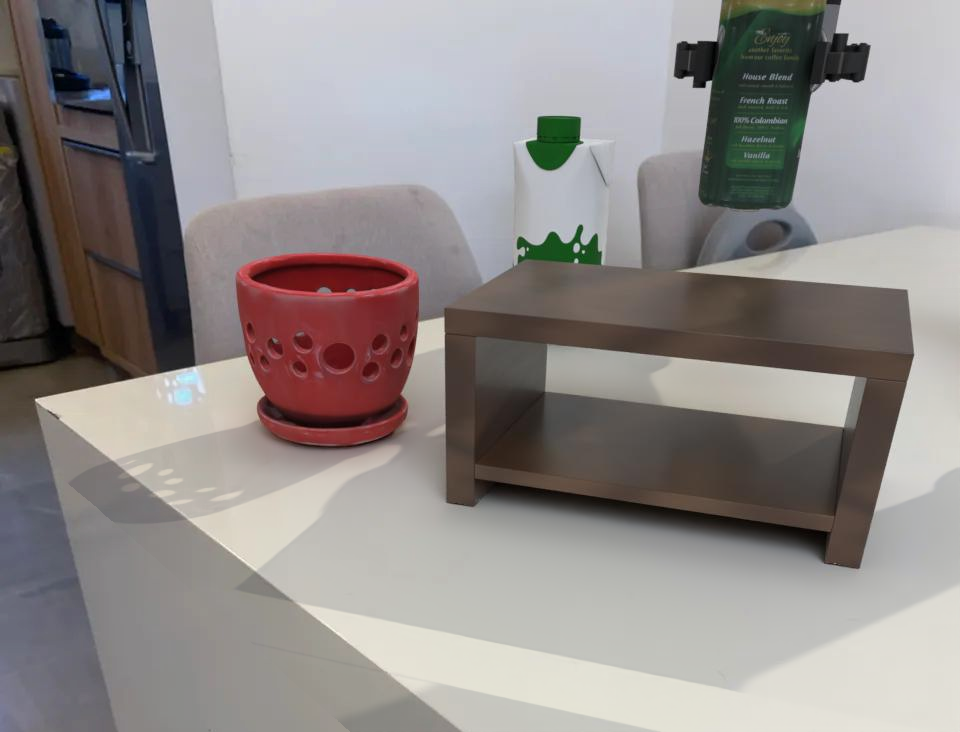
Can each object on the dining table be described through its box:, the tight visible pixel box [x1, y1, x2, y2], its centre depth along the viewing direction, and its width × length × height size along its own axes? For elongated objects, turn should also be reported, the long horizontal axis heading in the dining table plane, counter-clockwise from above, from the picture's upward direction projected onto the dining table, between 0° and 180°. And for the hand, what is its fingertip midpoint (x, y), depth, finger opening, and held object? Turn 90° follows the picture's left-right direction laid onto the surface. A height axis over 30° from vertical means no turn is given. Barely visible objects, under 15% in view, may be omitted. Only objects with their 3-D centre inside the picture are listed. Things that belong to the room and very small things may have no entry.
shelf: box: [443, 259, 915, 569], centre depth 62 cm, size 26×16×12 cm, turn 70°
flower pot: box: [235, 252, 420, 447], centre depth 71 cm, size 13×13×12 cm
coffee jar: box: [697, 0, 826, 213], centre depth 75 cm, size 10×8×19 cm
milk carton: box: [512, 115, 616, 267], centre depth 93 cm, size 9×9×20 cm
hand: (758, 62), depth 71 cm, fingers closed on coffee jar, 8 cm apart
